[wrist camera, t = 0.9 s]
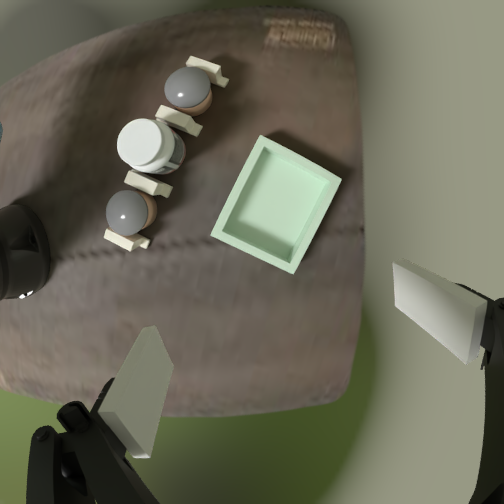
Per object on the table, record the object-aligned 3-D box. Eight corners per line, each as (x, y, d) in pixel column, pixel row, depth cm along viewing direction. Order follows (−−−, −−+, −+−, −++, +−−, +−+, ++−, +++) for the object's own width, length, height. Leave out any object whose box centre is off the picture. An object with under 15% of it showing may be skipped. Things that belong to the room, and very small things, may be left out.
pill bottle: (164, 123, 32) (139, 101, 22) (195, 149, 33) (180, 135, 24) (135, 157, 33) (102, 147, 23) (165, 184, 34) (140, 182, 24)
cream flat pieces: (110, 229, 35) (97, 234, 31) (188, 66, 30) (183, 53, 27) (147, 248, 36) (137, 254, 32) (228, 80, 31) (228, 68, 27)
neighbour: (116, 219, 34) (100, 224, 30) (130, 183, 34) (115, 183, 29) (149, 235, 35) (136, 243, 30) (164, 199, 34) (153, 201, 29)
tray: (212, 231, 36) (210, 235, 33) (258, 139, 33) (260, 134, 30) (289, 267, 37) (293, 274, 34) (333, 179, 35) (341, 179, 32)
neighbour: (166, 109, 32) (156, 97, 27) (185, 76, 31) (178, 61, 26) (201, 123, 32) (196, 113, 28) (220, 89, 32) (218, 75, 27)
